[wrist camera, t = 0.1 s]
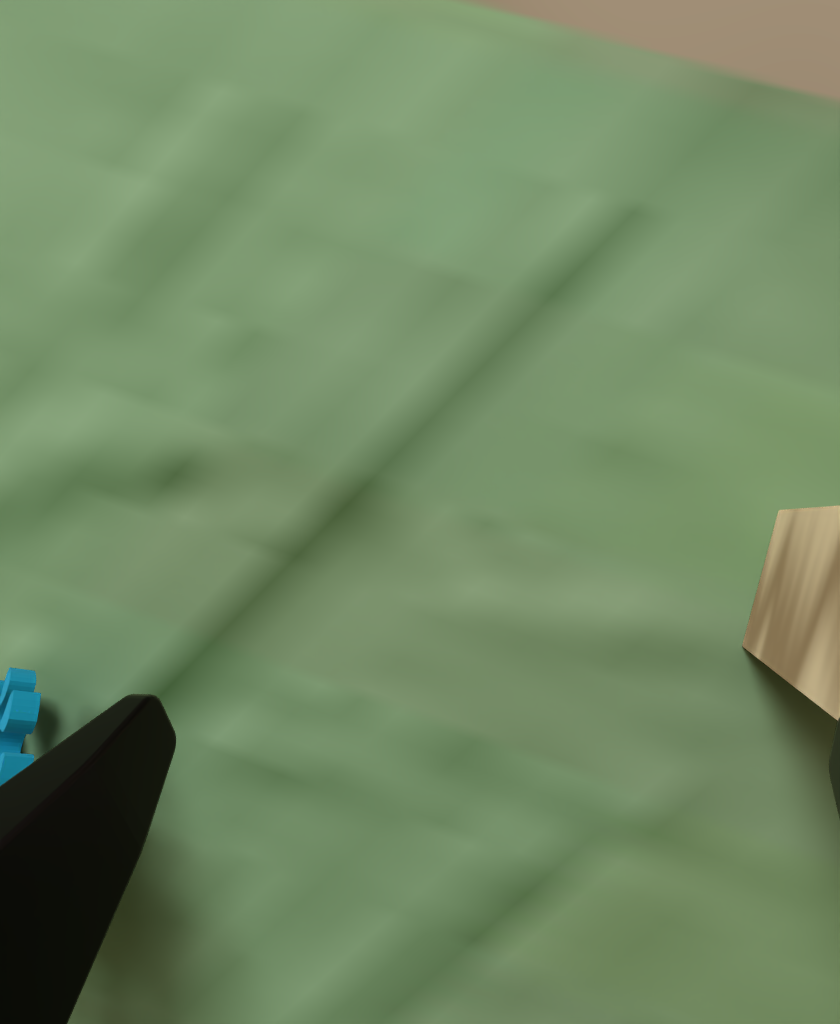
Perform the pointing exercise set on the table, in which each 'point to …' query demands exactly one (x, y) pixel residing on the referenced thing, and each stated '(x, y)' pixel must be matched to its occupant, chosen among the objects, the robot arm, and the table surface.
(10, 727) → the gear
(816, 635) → the maple block
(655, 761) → the table surface
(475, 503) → the table surface
